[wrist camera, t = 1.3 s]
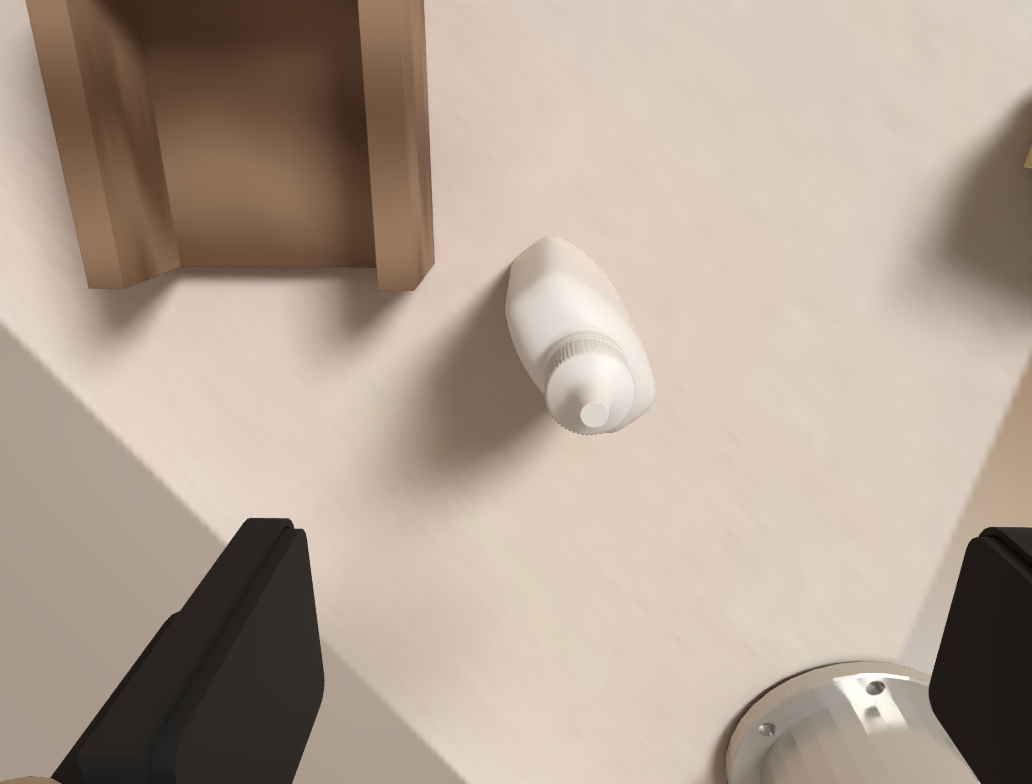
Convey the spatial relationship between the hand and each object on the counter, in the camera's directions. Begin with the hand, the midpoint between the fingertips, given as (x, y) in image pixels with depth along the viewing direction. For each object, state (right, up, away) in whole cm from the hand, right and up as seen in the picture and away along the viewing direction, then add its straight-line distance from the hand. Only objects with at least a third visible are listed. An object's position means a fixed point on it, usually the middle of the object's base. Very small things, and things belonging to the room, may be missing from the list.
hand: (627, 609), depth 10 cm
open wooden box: (-10, +13, +16) cm, 23 cm away
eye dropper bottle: (+1, +7, +19) cm, 20 cm away
